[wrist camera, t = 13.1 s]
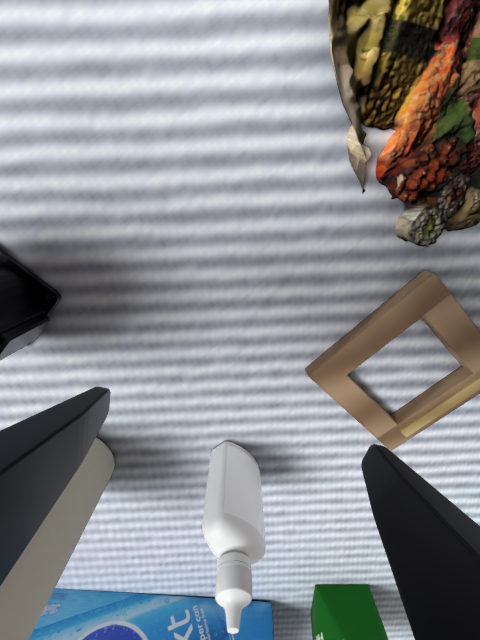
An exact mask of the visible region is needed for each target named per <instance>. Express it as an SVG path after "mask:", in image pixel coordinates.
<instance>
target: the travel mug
mask: <svg viewBox="0 0 480 640" xmlns="http://www.w3.org/2000/svg"><path fill="white" fill-rule="evenodd" d="M114 467H115V462H114V457H113V455H112V453H111V451H110V450H109V448H108V447H107V446H106V445H105V444H104V443H103V442H102V441H101V440H99V439H98V438H95V440H94V442H93V444H92V446H91V447H90V449H89V451H88V453H87V455H86V457H85V459H84V460H83V462H82V464H81V465H80V467H79V469H78V470H77V472H76V473H75V475H74V476H73V478H72V479H71V481H70V482H69V484H68V485H67V487H66V488H65V490H64V491H63V493H62V494H61V496H60V497H59V499H58V500H57V502H56V503H55V505H54V506H53V508H52V509H51V511H50V512H49V514H48V515H47V517H46V518H45V520H44V521H43V523H42V524H41V526H40V527H39V529H38V530H37V532H36V533H35V535H34V536H33V538H32V539H31V541H30V543H29V544H28V546H27V547H26V549H25V550H24V552H23V553H22V555H21V556H20V558H19V559H18V561H17V562H16V564H15V565H14V567H13V568H12V570H11V571H10V573H9V574H8V576H7V577H6V579H5V580H4V582H3V583H2V585H1V586H0V640H29V638H30V636H31V634H32V632H33V630H34V628H35V626H36V624H37V622H38V620H39V618H40V616H41V614H42V612H43V610H44V608H45V606H46V604H47V602H48V600H49V598H50V596H51V594H52V592H53V590H54V588H55V586H56V584H57V582H58V580H59V578H60V576H61V574H62V572H63V570H64V569H65V567H66V565H67V563H68V561H69V559H70V557H71V555H72V553H73V551H74V549H75V547H76V545H77V543H78V541H79V539H80V537H81V535H82V533H83V531H84V529H85V527H86V525H87V523H88V521H89V519H90V517H91V515H92V513H93V511H94V509H95V507H96V505H97V503H98V501H99V499H100V497H101V495H102V493H103V491H104V489H105V487H106V485H107V483H108V481H109V479H110V477H111V475H112V473H113V471H114Z"/></svg>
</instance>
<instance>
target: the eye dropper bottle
mask: <svg viewBox="0 0 480 640" xmlns="http://www.w3.org/2000/svg"><path fill="white" fill-rule="evenodd" d="M203 534H204V537H205V540H206V542H207V544H208V546H209V548H210V549H211V551H212V552H213V554H214V555H215V556H216V558H217V559H218V561H217V574H216V589H215V600H216V602H217V603H218V604H219V605H220V606H222V607H224V609H225V613H226V623H227V632H228V633H231V634H235V633H238V632H239V626H240V618H241V612H242V609H243V608H244V607H246V606H247V605H248V604H249V603H250V602H251V600H252V575H251V565H253V564H255V563H256V562H258V561H259V560H260V559H261V558H262V557H263V556H264V553H265V529H264V516H263V503H262V490H261V478H260V470H259V467H258V464H257V462H256V461H255V459H254V458H253V456H252V455H251V454H250V453H249V452H248V451H246V450H245V449H244V448H242V447H240V446H238V445H236V444H234V443H232V442H223V443H222V444H220V445H219V446H217V447H216V448H214V449H213V450H212V452H211V456H210V464H209V472H208V480H207V488H206V497H205V505H204V514H203Z"/></svg>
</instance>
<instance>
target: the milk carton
mask: <svg viewBox="0 0 480 640" xmlns="http://www.w3.org/2000/svg"><path fill="white" fill-rule="evenodd" d="M311 624H312V637H313V640H388V637H387V635H386V632H385V629H384V626H383V624H382V621H381V618H380V616H379V613H378V610H377V607H376V605H375V602H374V599H373V596H372V594H371V591H370V588H369V585H315V591H314V596H313V602H312V608H311Z"/></svg>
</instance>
